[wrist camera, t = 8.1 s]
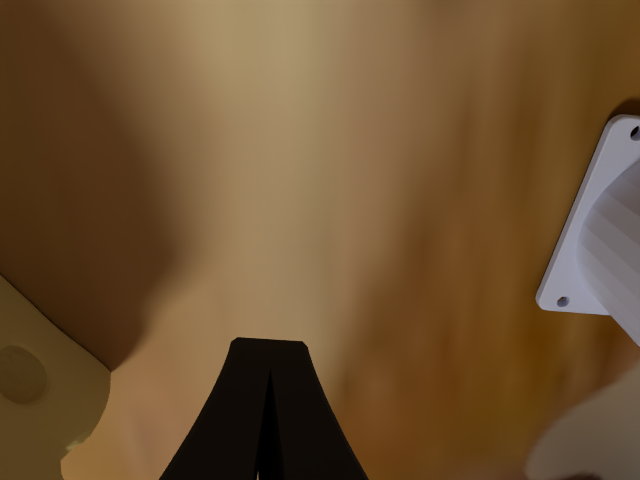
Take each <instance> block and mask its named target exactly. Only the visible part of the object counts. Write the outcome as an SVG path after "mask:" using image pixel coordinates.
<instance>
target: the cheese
mask: <svg viewBox="0 0 640 480" xmlns="http://www.w3.org/2000/svg"><path fill="white" fill-rule="evenodd" d="M110 380H111V373H110V372H109V370H108V369H107V368H106V367H105V366H104V365H103V364H102V363H101V362H100V361H99V360H97V359H96V358H95V357H94V356H92V355H91V354H90V353H89V352H87V351H86V350H85V349H84V348H82V347H81V346H80V345H78V344H77V343H76V342H74V341H73V340H72V339H70V338H69V337H68V336H66V335H65V334H64V333H63V332H61V331H60V330H59V329H58V328H57V327H56V326H55V325H53V324H52V323H51V322H50V321H49V320H48V319H47V318H46V317H45V316H44V315H42V314H41V313H40V312H39V311H38V309H37V308H36V307H35V306H34V305H33V304H32V303H30V302H29V301H28V300H27V299H26V298H25V297H24V296H23V295H22V294H20V293H19V292H18V291H17V290H16V289H15V288H14V287H13V286H12V285H11V284H10V283H9V282H7V281H6V280H5V279H4V278H3V277H2V276H1V275H0V480H64V479H63V477H62V474H61V462H60V460H61V459H62V458H63V457H64V456H65V455H66V454H67V453H68V452H70V451H71V450H72V449H73V448H74V447H76V446H78V445H79V444H81V443H83V442H84V441H85V439H86V438H88V437H89V436H90V435H91V434H92V432H93V430H94V429H95V427H96V425H97V424H98V422H99V420H100V418H101V416H102V414H103V412H104V410H105V407H106V404H107V401H108V398H109V393H110Z"/></svg>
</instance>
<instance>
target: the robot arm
mask: <svg viewBox="0 0 640 480" xmlns="http://www.w3.org/2000/svg"><path fill="white" fill-rule="evenodd" d="M637 126H639V129H638V132H637V133H636V134H635V135H634V136H632V137H630V134H631V131H632V130H633V129H634V128H635V127H637ZM561 297H564V298H563V299H562V300H561V301H558V299H559V298H561ZM536 302H537V303H538V305H539V306H540V307H541V308H542V309H544V310H550V311H563V312H576V313H589V314H602V315H611V316H612V317H613V318H614V319H615V320H616V321H617V323H618V324H619V325H620V326H621V327H622V328H623V329H624V330H625V331H626V332H627V334H628V335H629V336H630V337H631V338H632V339H633V340H634V341H635V342H636V344H637V345H638V346H639V347H640V116H635V115H627V114H620V115H617V116H615V117H613V118H612V119H611V120H610V121H608V123H607V125H606V126H605V128H604V131H603V133H602V136H601V138H600V141H599V143H598V145H597V148H596V150H595V153H594V155H593V158H592V160H591V163H590V165H589V167H588V170H587V172H586V175H585V177H584V180H583V182H582V184H581V187H580V189H579V192H578V194H577V197H576V199H575V202H574V204H573V206H572V209H571V211H570V214H569V216H568V219H567V221H566V224H565V226H564V228H563V231H562V233H561V236H560V238H559V241H558V243H557V246H556V248H555V250H554V253H553V255H552V258H551V260H550V263H549V265H548V267H547V270H546V272H545V275H544V277H543V280H542V282H541V285H540V287H539V289H538V292H537V294H536ZM257 474H258V478H259V480H369V479H368V477H367V476H366V474H365V472H364V470H363V469H362V467H361V465H360V463H359V462H358V460H357V458H356V456H355V454H354V453H353V451H352V449H351V447H350V445H349V443H348V441H347V440H346V438H345V436H344V434H343V432H342V430H341V427H340V425H339V423H338V421H337V419H336V417H335V415H334V413H333V411H332V409H331V407H330V405H329V403H328V401H327V398H326V396H325V394H324V391H323V389H322V387H321V384H320V382H319V379H318V377H317V374H316V372H315V369H314V366H313V363H312V360H311V357H310V354H309V351H308V347H307V346H306V345H305V344H304V342H303V341H288V340H272V339H256V338H241V337H237V338H236V339H234V340H233V341H231V344H230V348H229V352H228V355H227V357H226V360H225V363H224V365H223V368H222V370H221V372H220V375H219V377H218V379H217V381H216V383H215V385H214V387H213V389H212V392H211V393H210V395H209V397H208V399H207V401H206V403H205V405H204V406H203V408H202V410H201V412H200V414H199V416H198V417H197V419H196V421H195V423H194V425H193V426H192V428H191V430H190V431H189V433H188V435H187V436H186V438H185V439H184V441H183V443H182V444H181V446H180V447H179V449H178V451H177V452H176V454H175V455H174V457H173V459H172V460H171V462H170V463H169V465H168V466H167V468H166V470H165V471H164V473H163V474H162V476H161V477H160V478H159V480H257Z"/></svg>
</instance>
